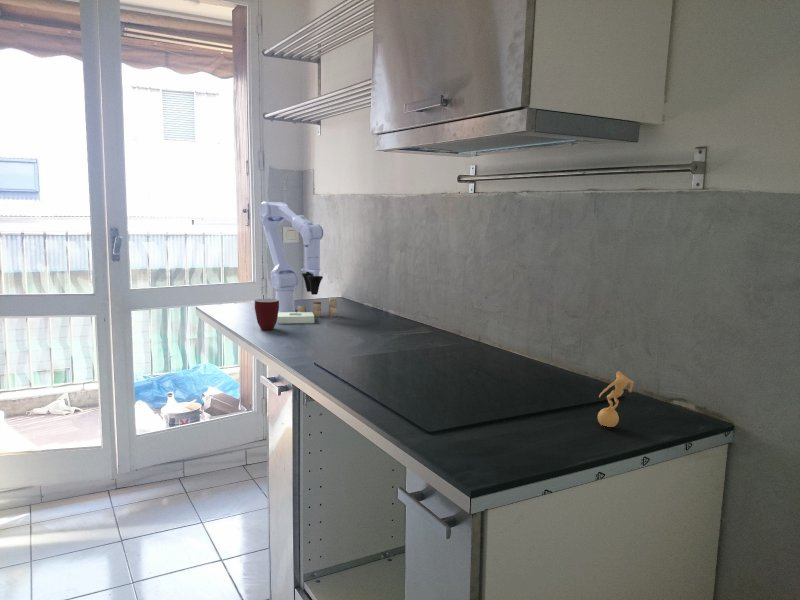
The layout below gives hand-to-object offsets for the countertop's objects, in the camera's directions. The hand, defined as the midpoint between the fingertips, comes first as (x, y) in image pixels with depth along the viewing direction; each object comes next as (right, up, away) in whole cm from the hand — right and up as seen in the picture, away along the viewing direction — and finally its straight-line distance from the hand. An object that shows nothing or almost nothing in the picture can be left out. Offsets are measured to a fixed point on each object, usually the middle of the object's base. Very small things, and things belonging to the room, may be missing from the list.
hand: (312, 293), depth 230 cm
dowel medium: (+1, -9, +5) cm, 10 cm away
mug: (-13, -13, -21) cm, 28 cm away
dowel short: (-5, -9, +4) cm, 11 cm away
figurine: (+75, -28, -110) cm, 136 cm away
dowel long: (+7, -9, +6) cm, 13 cm away
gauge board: (-5, -10, -6) cm, 13 cm away
